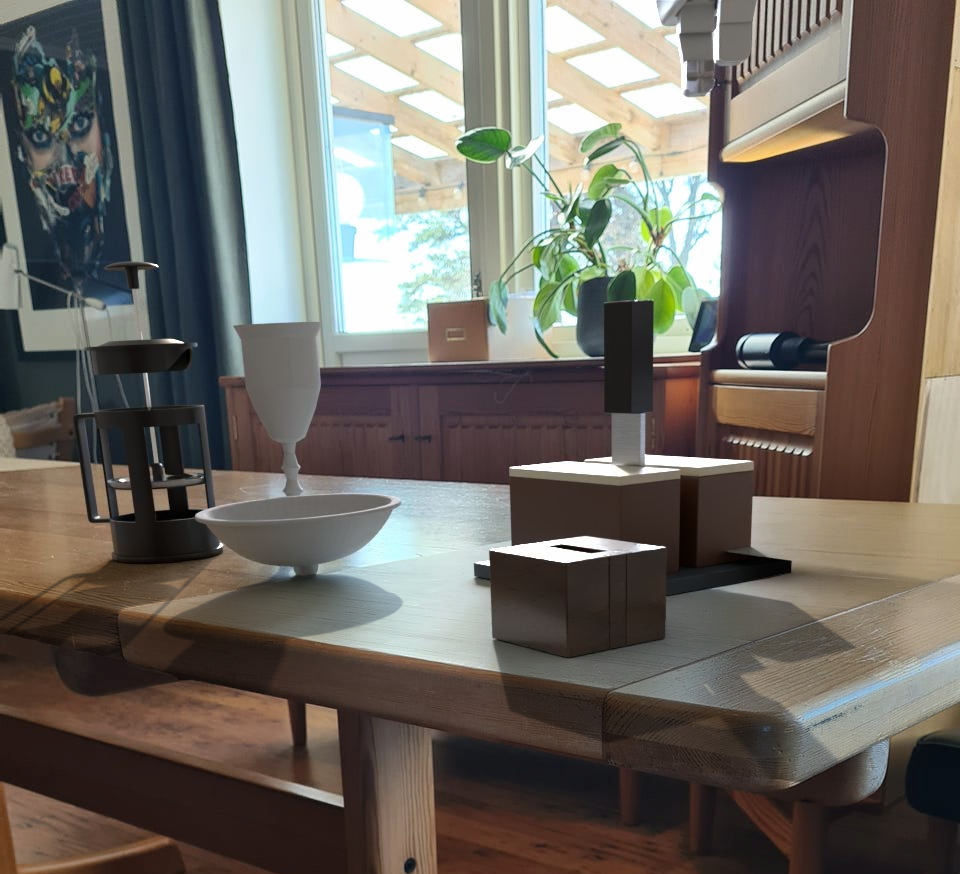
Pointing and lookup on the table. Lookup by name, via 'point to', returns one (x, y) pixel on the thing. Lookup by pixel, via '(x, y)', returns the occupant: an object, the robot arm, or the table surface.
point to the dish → (300, 527)
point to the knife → (628, 376)
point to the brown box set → (647, 513)
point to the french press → (147, 529)
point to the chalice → (283, 383)
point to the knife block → (578, 594)
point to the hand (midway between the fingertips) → (713, 80)
